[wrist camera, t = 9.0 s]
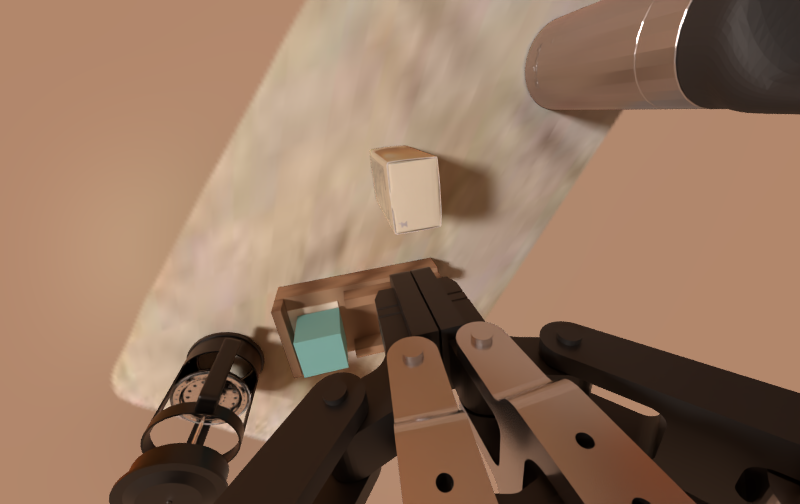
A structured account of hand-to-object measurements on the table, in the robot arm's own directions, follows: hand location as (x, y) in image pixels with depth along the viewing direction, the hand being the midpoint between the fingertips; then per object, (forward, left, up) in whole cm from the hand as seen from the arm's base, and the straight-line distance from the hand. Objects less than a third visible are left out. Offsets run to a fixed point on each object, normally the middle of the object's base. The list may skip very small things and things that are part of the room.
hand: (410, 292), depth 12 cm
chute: (+2, +18, -27) cm, 32 cm away
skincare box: (-4, +1, -27) cm, 27 cm away
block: (+8, +18, -23) cm, 30 cm away
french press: (+21, +22, -27) cm, 41 cm away
